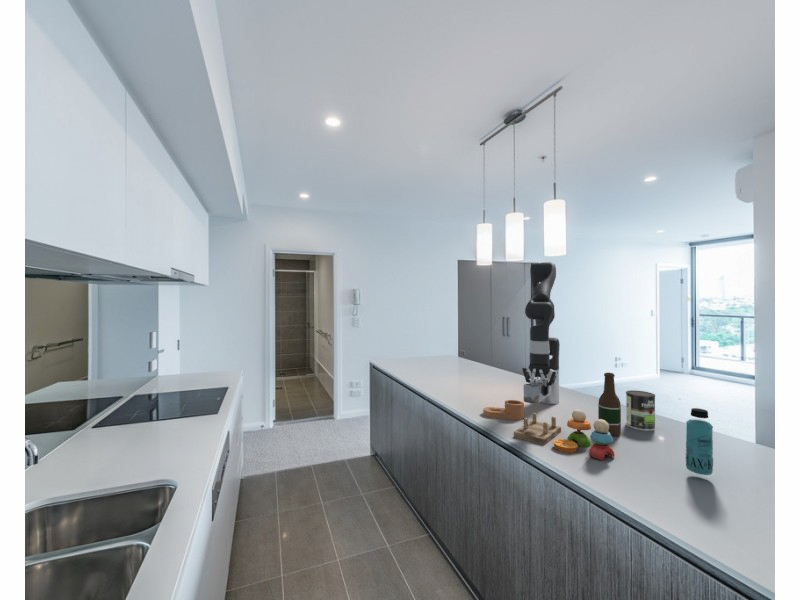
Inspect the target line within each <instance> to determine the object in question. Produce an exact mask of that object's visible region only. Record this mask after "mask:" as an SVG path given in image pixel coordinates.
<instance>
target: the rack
mask: <svg viewBox="0 0 800 600" xmlns="http://www.w3.org/2000/svg"><path fill="white" fill-rule="evenodd" d="M531 414H532V420H530V421H529V420H528V418H527V417H524V419H523V425H522V426H521V427H518V429H515V430H514V431H513V438H517V439H520V440H525V441H529V442H533V443H536V444H540V445H543V446H545V445H547V444H548V443H549V442H550V441H552V440H553V439H554V438H555V437H557V435H559V434H560V433H562V426H558V425H557V420H556V419H557V417H556V416H551V417H550V418H551V423H548V422H546V421H544V422H541V421H537V413H536V412H532V413H531Z"/></svg>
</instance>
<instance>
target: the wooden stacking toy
mask: <svg viewBox="0 0 800 600" xmlns="http://www.w3.org/2000/svg"><path fill="white" fill-rule="evenodd" d="M571 417H572V418H569V419H568V420H567V422H566V426H567V427H568V428H570V429H572V430H575V431H573V432H571V433H570V434H569V435H568V437H567V438H566V439H563V438H558V439H554V440H553V445H554V448H555V450H557V451H558V452H561V453H563V454H564V453H565V454H575V453H577V449H578V446H579V447H580V448H589V451H588V455H589V456H591V457H592V458H593V459H598V460H604V458H605V455H609V456H611V457H613V458H614V457H616V456H615V451H614V450H613V448H612V447H611V446H610V445H611V444H612V443H613V441H614V438H613V436H611V434H610V433H609V432H608V430H609V425H608V423H607V422H606V421H605V420H602V419H598V418H597V419H596V420H595V421H594V422H593V429H594V430H592V432H591V434H590V436H589V437H588V435H587V434H586V433H584V432H583V431H590V430H591V429H592V426H591V425H592V424H591V423H590V422H589V420H586V419H587V416H586V413H585V412H584V411H583V409H578V408H577V409H575V410H572V413H571ZM575 441H576V442H575ZM591 441H592V442H594V443H593V444H592V443H591Z"/></svg>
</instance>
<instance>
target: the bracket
mask: <svg viewBox="0 0 800 600" xmlns="http://www.w3.org/2000/svg"><path fill="white" fill-rule="evenodd" d="M482 411H483V413H482V415H483V417H486V418H493V419H502V420H511V419H512V420H514V421H520V420H524V419H523V418H525V403H524V401H521V400H516V399H507V400H505V401H504V407H499V406H498V407H495V406H485V407H484V408H482Z"/></svg>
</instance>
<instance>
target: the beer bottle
mask: <svg viewBox="0 0 800 600" xmlns="http://www.w3.org/2000/svg"><path fill="white" fill-rule="evenodd" d="M603 376H604V383H603V392H602V394H601V395H600V396H599V398H598V403H597V404H598V411H597V413H598V415H597V416H598V418H597V420H598V419H602V420H605V421H606V422H607V423H608V425H609V430H608V432H609V433H610V434H611V436H612V437H619V436H620V435H621V432H622V424H621V423H622V419H621V417H622V414H621V413H622V408H621V407H622V405H621V400H620V398H619V396H618V395H617V393H616V388H615V387H616V385H615V377H616V376H615V373H613V372H605V373H604V374H603Z"/></svg>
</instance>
